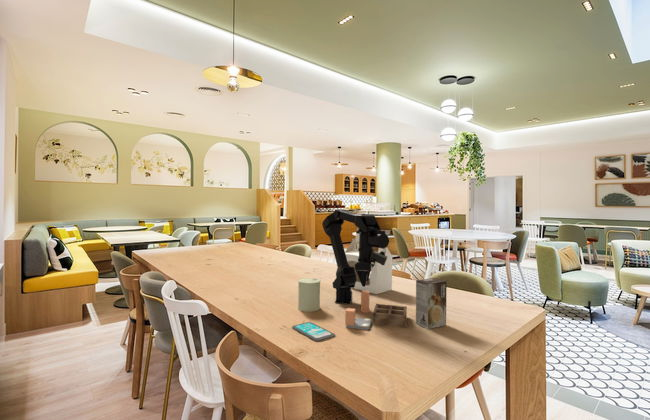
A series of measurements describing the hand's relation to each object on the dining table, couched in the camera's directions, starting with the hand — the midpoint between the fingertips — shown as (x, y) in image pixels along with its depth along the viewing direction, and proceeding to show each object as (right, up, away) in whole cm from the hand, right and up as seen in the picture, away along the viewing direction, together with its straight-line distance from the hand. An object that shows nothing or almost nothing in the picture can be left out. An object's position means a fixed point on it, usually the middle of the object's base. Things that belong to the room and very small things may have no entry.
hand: (365, 283), depth 133 cm
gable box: (+6, -11, +38) cm, 40 cm away
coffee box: (+22, -12, -14) cm, 29 cm away
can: (-23, -11, +3) cm, 26 cm away
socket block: (+8, -11, -10) cm, 17 cm away
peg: (0, -11, 0) cm, 11 cm away
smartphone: (-20, -12, -22) cm, 33 cm away
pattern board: (-4, -11, -15) cm, 19 cm away
